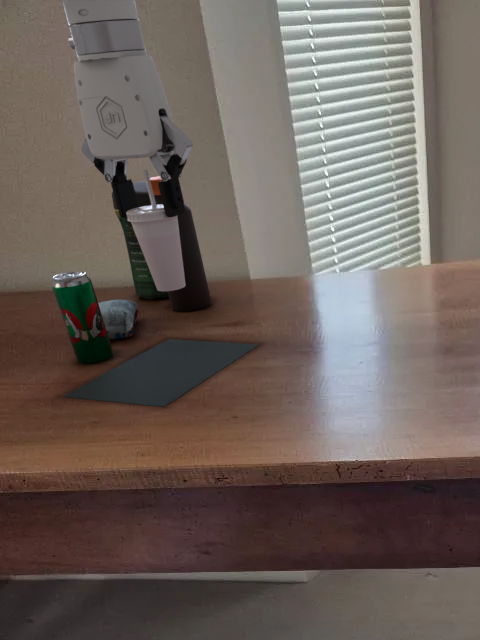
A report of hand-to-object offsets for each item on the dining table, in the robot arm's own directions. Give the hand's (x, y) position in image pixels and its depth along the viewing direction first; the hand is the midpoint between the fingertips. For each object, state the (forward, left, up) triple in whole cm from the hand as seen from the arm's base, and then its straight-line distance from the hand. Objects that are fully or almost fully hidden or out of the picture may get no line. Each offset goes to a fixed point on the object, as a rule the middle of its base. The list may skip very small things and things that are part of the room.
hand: (152, 214), depth 92 cm
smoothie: (0, 0, -9) cm, 9 cm away
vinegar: (-16, +23, -19) cm, 34 cm away
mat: (0, -5, -19) cm, 20 cm away
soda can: (-14, -3, -19) cm, 24 cm away
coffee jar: (-27, +30, -19) cm, 45 cm away
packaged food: (-20, +7, -19) cm, 29 cm away
